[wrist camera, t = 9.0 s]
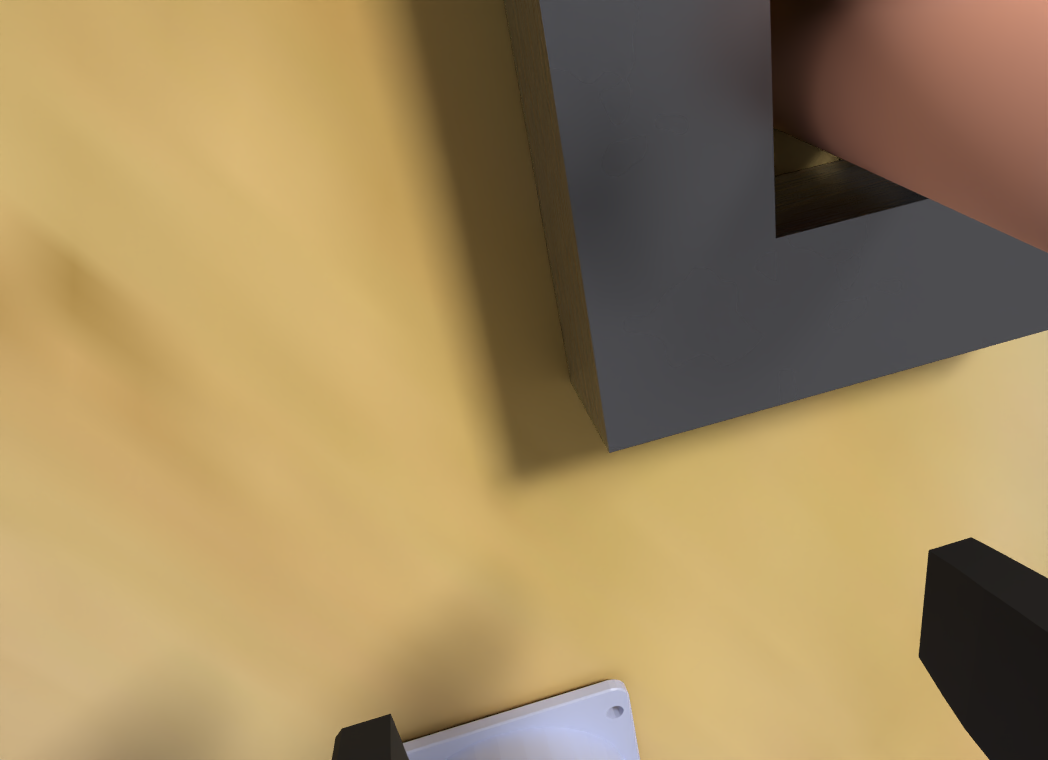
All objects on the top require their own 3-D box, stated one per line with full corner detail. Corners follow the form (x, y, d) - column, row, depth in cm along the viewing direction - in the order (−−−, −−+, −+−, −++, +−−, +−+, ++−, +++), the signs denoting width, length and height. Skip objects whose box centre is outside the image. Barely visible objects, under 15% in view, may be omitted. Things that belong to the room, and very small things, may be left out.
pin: (871, 117, 18) (1213, 240, 11) (740, 143, 18) (1011, 288, 11) (883, -38, 16) (1288, -6, 10) (740, -12, 16) (1055, 40, 9)
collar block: (1035, 256, 21) (1137, 304, 18) (570, 382, 19) (609, 452, 17) (1128, -378, 14) (1304, -442, 12) (460, -249, 13) (494, -290, 11)
